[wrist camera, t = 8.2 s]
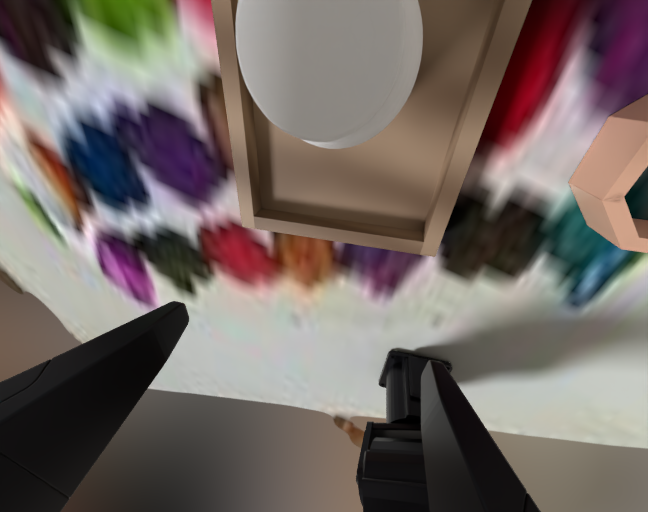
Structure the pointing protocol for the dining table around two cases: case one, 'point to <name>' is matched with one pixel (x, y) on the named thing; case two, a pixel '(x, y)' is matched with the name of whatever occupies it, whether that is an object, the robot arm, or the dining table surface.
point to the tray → (377, 138)
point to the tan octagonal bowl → (615, 177)
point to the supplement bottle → (329, 64)
